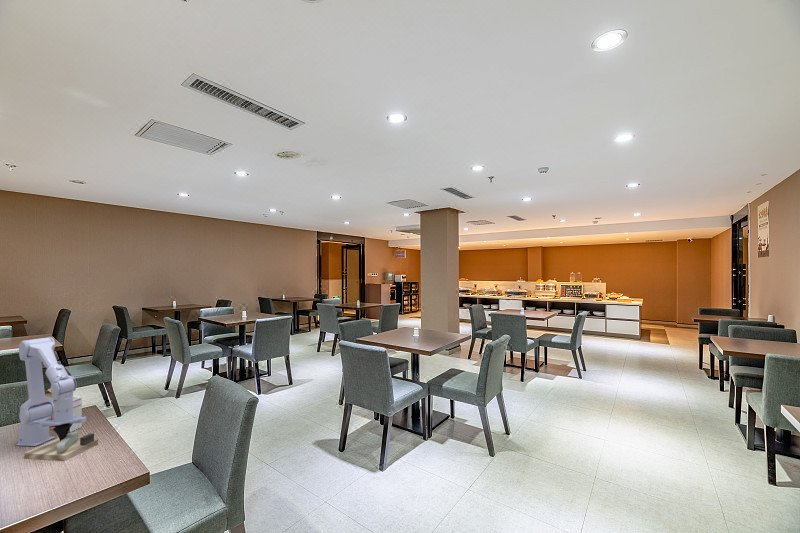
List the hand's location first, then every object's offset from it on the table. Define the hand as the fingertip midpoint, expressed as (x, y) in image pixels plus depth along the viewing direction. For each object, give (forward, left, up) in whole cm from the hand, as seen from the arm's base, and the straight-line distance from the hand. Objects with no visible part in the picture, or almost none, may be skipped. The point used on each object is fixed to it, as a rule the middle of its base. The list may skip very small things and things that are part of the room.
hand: (63, 442), depth 146 cm
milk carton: (-29, +20, -3) cm, 35 cm away
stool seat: (0, -1, -3) cm, 3 cm away
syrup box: (-17, +17, -3) cm, 24 cm away
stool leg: (+3, -1, -1) cm, 3 cm away
